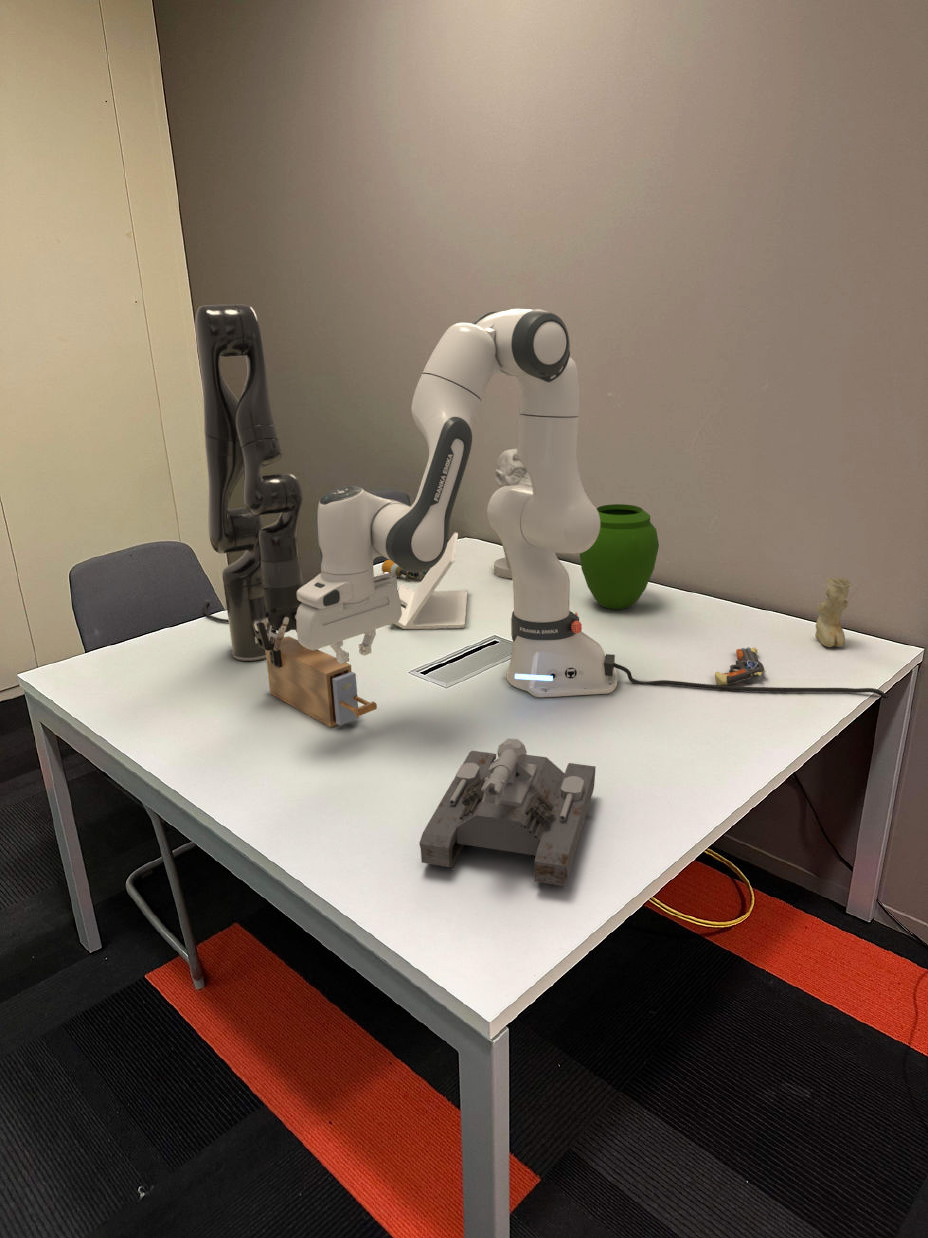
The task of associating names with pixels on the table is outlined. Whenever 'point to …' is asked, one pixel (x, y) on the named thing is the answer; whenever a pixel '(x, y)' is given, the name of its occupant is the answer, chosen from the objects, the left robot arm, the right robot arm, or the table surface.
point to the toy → (512, 810)
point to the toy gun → (741, 667)
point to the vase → (620, 556)
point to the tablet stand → (434, 599)
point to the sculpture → (832, 613)
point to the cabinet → (305, 679)
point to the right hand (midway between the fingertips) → (354, 657)
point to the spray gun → (399, 570)
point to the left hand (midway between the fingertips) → (291, 661)
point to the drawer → (347, 698)
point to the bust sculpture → (508, 475)
